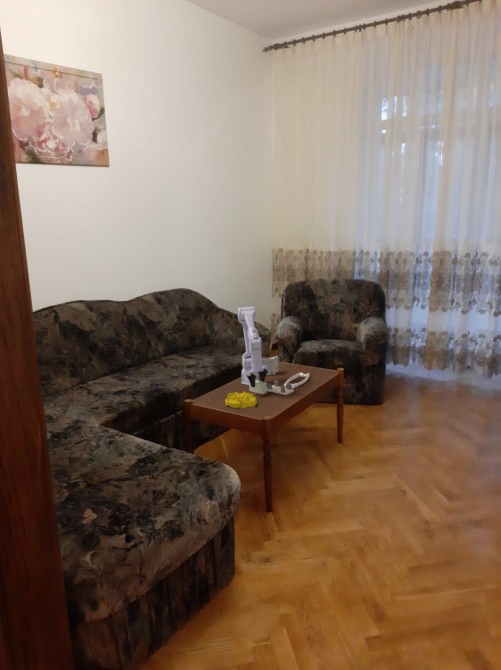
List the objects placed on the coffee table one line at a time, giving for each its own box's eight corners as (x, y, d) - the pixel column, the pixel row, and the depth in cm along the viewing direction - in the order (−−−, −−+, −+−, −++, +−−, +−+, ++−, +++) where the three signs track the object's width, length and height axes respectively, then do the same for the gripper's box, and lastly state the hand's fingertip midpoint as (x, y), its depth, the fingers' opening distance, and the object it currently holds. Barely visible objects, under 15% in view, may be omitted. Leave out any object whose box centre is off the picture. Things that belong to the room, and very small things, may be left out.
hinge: (278, 371, 306) (277, 355, 304) (280, 374, 301) (280, 358, 299) (256, 374, 303) (255, 358, 300) (258, 376, 298) (257, 360, 295)
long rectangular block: (249, 391, 274) (248, 380, 272) (253, 389, 276) (252, 379, 275) (263, 394, 267) (262, 383, 266) (266, 392, 269) (266, 382, 268)
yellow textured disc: (223, 409, 250) (223, 401, 249) (227, 397, 266) (226, 390, 265) (256, 408, 249) (256, 400, 248) (258, 397, 265) (257, 389, 264)
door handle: (313, 376, 294) (296, 390, 272) (298, 375, 298) (280, 388, 277) (313, 372, 293) (296, 385, 272) (297, 370, 298) (280, 383, 276)
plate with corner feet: (265, 390, 273) (265, 383, 272) (273, 386, 278) (273, 380, 277) (285, 395, 264) (285, 388, 263) (293, 391, 269) (293, 384, 268)
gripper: (253, 365, 260) (254, 390, 263) (270, 358, 270) (271, 382, 273) (243, 363, 264) (244, 387, 267) (260, 357, 275) (262, 380, 278)
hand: (257, 385), depth 271 cm, fingers open, 7 cm apart
